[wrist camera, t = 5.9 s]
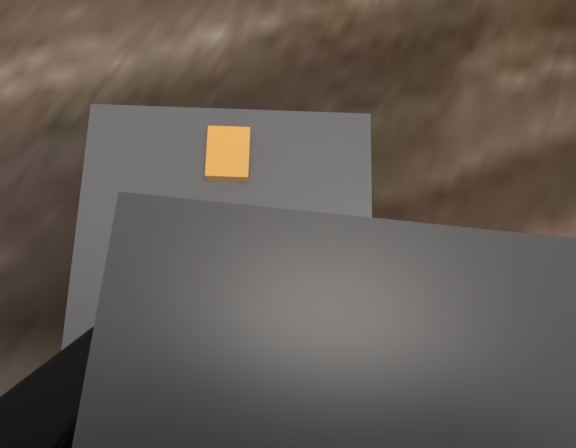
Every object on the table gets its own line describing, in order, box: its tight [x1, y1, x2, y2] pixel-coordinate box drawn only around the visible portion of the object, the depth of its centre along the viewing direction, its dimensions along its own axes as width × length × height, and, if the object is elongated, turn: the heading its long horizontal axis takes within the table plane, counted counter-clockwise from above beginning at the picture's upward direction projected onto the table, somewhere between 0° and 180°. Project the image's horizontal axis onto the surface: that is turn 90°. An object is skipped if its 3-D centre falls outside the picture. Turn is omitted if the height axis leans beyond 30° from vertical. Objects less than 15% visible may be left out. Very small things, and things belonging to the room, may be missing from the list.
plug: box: [72, 192, 576, 448], centre depth 9 cm, size 5×5×13 cm
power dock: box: [61, 104, 372, 350], centre depth 20 cm, size 20×11×4 cm, turn 179°
